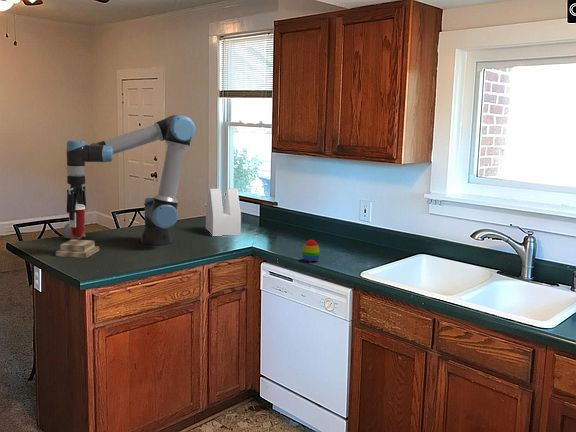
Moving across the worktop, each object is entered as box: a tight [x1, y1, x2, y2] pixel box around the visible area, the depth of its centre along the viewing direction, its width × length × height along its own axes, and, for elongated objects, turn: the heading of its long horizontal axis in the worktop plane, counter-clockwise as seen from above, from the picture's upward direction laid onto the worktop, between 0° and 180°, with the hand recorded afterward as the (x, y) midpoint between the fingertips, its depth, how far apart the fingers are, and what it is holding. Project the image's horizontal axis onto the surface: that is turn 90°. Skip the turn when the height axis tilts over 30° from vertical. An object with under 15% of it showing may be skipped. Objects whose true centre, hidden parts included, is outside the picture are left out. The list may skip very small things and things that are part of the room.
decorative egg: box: [301, 239, 321, 262], centre depth 259 cm, size 8×8×10 cm
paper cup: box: [70, 203, 87, 238], centre depth 253 cm, size 8×8×14 cm
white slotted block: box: [205, 187, 242, 237], centre depth 312 cm, size 19×15×25 cm
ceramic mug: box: [62, 223, 87, 240], centre depth 285 cm, size 11×8×8 cm
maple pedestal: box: [55, 239, 100, 259], centre depth 255 cm, size 14×14×5 cm
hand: (77, 225), depth 254 cm, fingers closed on paper cup, 8 cm apart
